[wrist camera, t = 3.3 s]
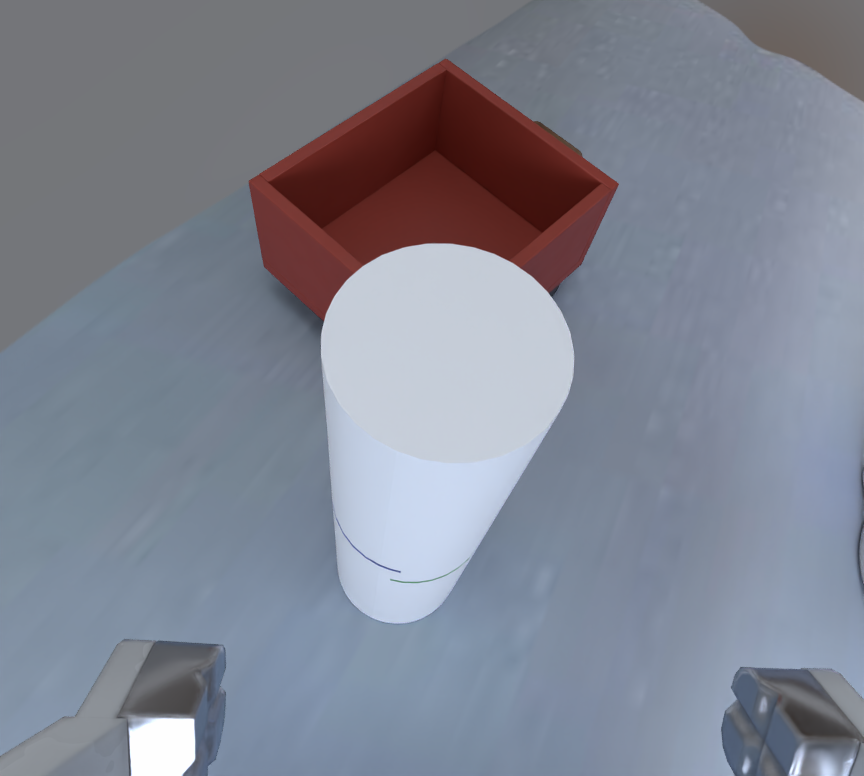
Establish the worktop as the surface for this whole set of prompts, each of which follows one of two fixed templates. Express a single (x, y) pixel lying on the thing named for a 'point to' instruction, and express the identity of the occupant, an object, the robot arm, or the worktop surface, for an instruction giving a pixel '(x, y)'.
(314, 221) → the toy cart
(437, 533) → the cylindrical container
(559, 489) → the worktop surface
